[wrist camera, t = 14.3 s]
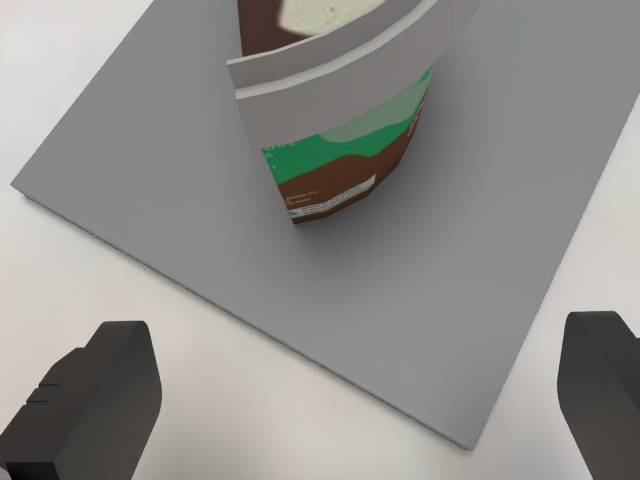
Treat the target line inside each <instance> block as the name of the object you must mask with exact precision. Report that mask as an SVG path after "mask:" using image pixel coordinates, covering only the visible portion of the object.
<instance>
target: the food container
mask: <svg viewBox="0 0 640 480" xmlns="http://www.w3.org/2000/svg"><path fill="white" fill-rule="evenodd" d="M481 1H482V0H237V5H238V16H239V28H240V38H241V48H242V57H241V58H237V59H232V60H227V66H228V69H229V72H230V75H231V78H232V81H233V83H234V86H235V89H236V100H237V103H238V107H239V110H240V113H241V116H242V120H243V123H244V126H245V129H246V132H247V136H248V139H249V142H250V145H251V148H252V151H254V150H259V149H262V152H263V154H264V156H265V159H266V161H267V163H268V166H269V168H270V170H271V173H272V175H273V178H274V180H275V182H276V185H277V187H278V189H279V192H280V194H281V196H282V199H283V201H284V203H285V206H286V208H287V210H288V213H289V215H290V217H291V220H292V222H293V225H294V224H299V223H303V222H308V221H312V220H317V219H321V218H325V217H328V216H330V215H332V214H334V213H336V212H338V211H340V210H342V209H344V208H346V207H348V206H350V205H352V204H353V203H355V202H357V201H359V200H361V199H363V198H365V197H367V196H368V195H369V194H370V193H371V192H372V191H373V190H374V189H375V188H376V187H377V186H378V185H379V184H380V183H381V182H382V181H383V180H384V179H385V178H386V177H387V176H388V175H389V174H390V173H391V172H393V171H394V170H395V169H396V168H397V167H398V165H399V163H400V161H401V159H402V157H403V155H404V153H405V150H406V148H407V146H408V144H409V142H410V140H411V138H412V136H413V134H414V132H415V130H416V126H417V123H418V120H419V116H420V113H421V110H422V106H423V103H424V100H425V96H426V93H427V90H428V86H429V83H430V80H431V77H432V73H433V70H434V67H435V63H436V61H437V60H438V59H439V58H440V57H441V56H442V55H443V54H444V53H445V52H446V51H447V50H448V49H449V48H450V47H451V46H452V45H453V44H454V43H455V41H456V40H457V38H458V37H459V35H460V34H461V33H462V31H463V30H464V28H465V27H466V25H467V24H468V23H469V21H470V20H471V18H472V17H473V15H474V14H475V13H476V11H477V10H478V8H479V5H480V3H481Z"/></svg>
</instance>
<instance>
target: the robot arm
mask: <svg viewBox="0 0 640 480" xmlns="http://www.w3.org/2000/svg"><path fill="white" fill-rule="evenodd" d="M557 392H558V399H559V404H560V408H561V411H562V413H563V416H564V418H565V420H566V422H567V424H568V426H569V429H570V431H571V433H572V435H573V437H574V439H575V441H576V444H577V446H578V448H579V450H580V452H581V454H582V456H583V459H584V461H585V463H586V465H587V467H588V469H589V471H590V474H591V476H592V478H593V480H640V338H636V337H635V335H634V334H633V333H632V332H631V330H630V329H629V328H628V326H627V325H626V324H625V322H624V321H623V320H622V318H621V317H620V316H619V315H618V313H616V312H615V311H587V312H571V313H569V315H568V316H567V319H566V323H565V330H564V337H563V344H562V350H561V357H560V364H559V371H558V378H557ZM161 401H162V387H161V381H160V376H159V372H158V367H157V363H156V359H155V354H154V350H153V345H152V341H151V336H150V332H149V329H148V326H147V324H146V323H145V322H144V321H106V322H103V323H102V324H101V325H100V326H99V328H98V329H97V331H96V332H95V333H94V335H93V336H92V338H91V339H90V341H89V342H88V343H87V345H86V346H85V348H75V349H74V350H73V351H71V352H70V353H68V354H67V355H66V356H64V357H63V358H62V359H60V360H59V361H58V362H56V363H55V364H54V365H53V366H52V367H51V368H50V370H49V371H48V372H47V374H46V375H45V377H44V378H43V379H42V381H41V382H40V383H39V387H38V388H36V389H35V390H34V391H33V393H32V394H31V395H30V397H29V398H28V399H27V401H26V405H23V406H22V407H21V409H20V410H19V411H18V413H17V414H16V415H15V417H14V418H13V419H12V421H11V422H10V423H9V425H8V426H7V427H6V429H5V430H4V431H3V433H2V434H1V435H0V480H131V478H132V476H133V474H134V471H135V469H136V467H137V464H138V462H139V460H140V457H141V455H142V453H143V451H144V448H145V446H146V444H147V441H148V439H149V437H150V434H151V432H152V430H153V427H154V425H155V423H156V420H157V418H158V415H159V412H160V408H161Z"/></svg>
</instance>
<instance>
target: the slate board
mask: <svg viewBox="0 0 640 480" xmlns="http://www.w3.org/2000/svg"><path fill="white" fill-rule="evenodd" d="M241 57H242V48H241V38H240V28H239V16H238V5H237V0H154V1H153V2H152V3H151V5H150V6H149V7H148V9H147V10H146V11H145V12H144V14H143V15H142V16H141V18H140V19H139V20H138V21H137V23H136V24H135V25H134V26H133V28H132V29H131V30H130V32H129V33H128V34H127V35H126V37H125V38H124V39H123V41H122V42H121V43H120V44H119V46H118V47H117V48H116V49H115V51H114V52H113V53H112V55H111V56H110V57H109V58H108V60H107V61H106V62H105V63H104V65H103V66H102V67H101V69H100V70H99V71H98V72H97V74H96V75H95V76H94V78H93V79H92V80H91V81H90V83H89V84H88V85H87V86H86V88H85V89H84V90H83V92H82V93H81V94H80V95H79V97H78V98H77V99H76V101H75V102H74V103H73V104H72V106H71V107H70V108H69V109H68V111H67V112H66V113H65V115H64V116H63V117H62V118H61V120H60V121H59V122H58V124H57V125H56V126H55V127H54V129H53V130H52V131H51V132H50V134H49V135H48V136H47V138H46V139H45V140H44V141H43V143H42V144H41V145H40V147H39V148H38V149H37V150H36V152H35V153H34V154H33V155H32V157H31V158H30V159H29V161H28V162H27V163H26V164H25V166H24V167H23V168H22V170H21V171H20V172H19V173H18V175H17V176H16V177H15V178H14V180H13V181H12V182H11V184H10V185H11V186H12V187H14V188H15V189H17V190H18V191H19V192H21V193H22V194H24V195H25V196H27V197H28V198H30V199H32V200H34V201H35V202H37V203H39V204H41V205H42V206H44V207H46V208H48V209H49V210H51V211H53V212H54V213H56V214H58V215H60V216H61V217H63V218H65V219H67V220H68V221H70V222H72V223H74V224H75V225H77V226H79V227H81V228H82V229H84V230H86V231H88V232H89V233H91V234H93V235H94V236H96V237H98V238H100V239H101V240H103V241H105V242H107V243H108V244H110V245H112V246H114V247H115V248H117V249H119V250H121V251H122V252H124V253H126V254H127V255H129V256H131V257H133V258H134V259H136V260H138V261H140V262H141V263H143V264H145V265H147V266H148V267H150V268H152V269H154V270H155V271H157V272H159V273H161V274H162V275H164V276H166V277H167V278H169V279H171V280H173V281H174V282H176V283H178V284H180V285H181V286H183V287H185V288H187V289H188V290H190V291H192V292H194V293H195V294H197V295H199V296H200V297H202V298H204V299H206V300H207V301H209V302H211V303H213V304H214V305H216V306H218V307H220V308H221V309H223V310H225V311H227V312H228V313H230V314H232V315H234V316H235V317H237V318H239V319H240V320H242V321H244V322H246V323H247V324H249V325H251V326H253V327H254V328H256V329H258V330H260V331H261V332H263V333H265V334H267V335H268V336H270V337H272V338H273V339H275V340H277V341H279V342H280V343H282V344H284V345H286V346H287V347H289V348H291V349H293V350H294V351H296V352H298V353H300V354H301V355H303V356H305V357H306V358H308V359H310V360H312V361H313V362H315V363H317V364H319V365H320V366H322V367H324V368H326V369H327V370H329V371H331V372H333V373H334V374H336V375H338V376H340V377H341V378H343V379H345V380H346V381H348V382H350V383H352V384H353V385H355V386H357V387H359V388H360V389H362V390H364V391H366V392H367V393H369V394H371V395H373V396H374V397H376V398H378V399H379V400H381V401H383V402H385V403H386V404H388V405H390V406H392V407H393V408H395V409H397V410H399V411H400V412H402V413H404V414H406V415H407V416H409V417H411V418H413V419H414V420H416V421H418V422H419V423H421V424H423V425H425V426H426V427H428V428H430V429H432V430H433V431H435V432H437V433H439V434H440V435H442V436H444V437H446V438H447V439H449V440H451V441H452V442H454V443H456V444H458V445H459V446H461V447H463V448H465V449H466V450H473V449H474V447H475V445H476V443H477V440H478V438H479V436H480V434H481V432H482V430H483V428H484V425H485V423H486V421H487V419H488V417H489V415H490V413H491V410H492V408H493V406H494V404H495V402H496V400H497V398H498V395H499V393H500V391H501V389H502V387H503V385H504V382H505V380H506V378H507V376H508V374H509V372H510V370H511V367H512V365H513V363H514V361H515V359H516V357H517V355H518V352H519V350H520V348H521V346H522V344H523V342H524V340H525V337H526V335H527V333H528V331H529V329H530V327H531V325H532V322H533V320H534V318H535V316H536V314H537V312H538V310H539V307H540V305H541V303H542V301H543V299H544V297H545V294H546V292H547V290H548V288H549V286H550V284H551V282H552V279H553V277H554V275H555V273H556V271H557V269H558V267H559V264H560V262H561V260H562V258H563V256H564V254H565V252H566V249H567V247H568V245H569V243H570V241H571V239H572V237H573V234H574V232H575V230H576V228H577V226H578V224H579V222H580V219H581V217H582V215H583V213H584V211H585V209H586V206H587V204H588V202H589V200H590V198H591V196H592V194H593V191H594V189H595V187H596V185H597V183H598V181H599V179H600V176H601V174H602V172H603V170H604V168H605V166H606V164H607V161H608V159H609V157H610V155H611V153H612V151H613V149H614V146H615V144H616V142H617V140H618V138H619V136H620V134H621V131H622V129H623V127H624V125H625V123H626V121H627V118H628V116H629V114H630V112H631V110H632V108H633V106H634V103H635V101H636V99H637V97H638V95H639V93H640V0H482V1H481V3H480V5H479V8H478V10H477V11H476V13H475V14H474V15H473V17H472V18H471V20H470V21H469V23H468V24H467V25H466V27H465V28H464V30H463V31H462V33H461V34H460V35H459V37H458V38H457V40H456V41H455V43H454V44H453V45H452V46H451V47H450V48H449V49H448V50H447V51H446V52H445V53H444V54H443V55H442V56H441V57H440V58H439V59H438V60H437V61H436V63H435V67H434V70H433V73H432V77H431V80H430V83H429V86H428V90H427V93H426V96H425V100H424V103H423V106H422V110H421V113H420V116H419V120H418V123H417V126H416V130H415V132H414V134H413V136H412V138H411V140H410V142H409V144H408V146H407V148H406V150H405V153H404V155H403V157H402V159H401V161H400V163H399V165H398V167H397V168H396V169H395V170H394V171H393V172H391V173H390V174H389V175H388V176H387V177H386V178H385V179H384V180H383V181H382V182H381V183H380V184H379V185H378V186H377V187H376V188H375V189H374V190H373V191H372V192H371V193H370V194H369V195H368V196H367V197H365V198H363V199H361V200H359V201H357V202H355V203H353V204H352V205H350V206H348V207H346V208H344V209H342V210H340V211H338V212H336V213H334V214H332V215H330V216H328V217H325V218H321V219H317V220H312V221H308V222H303V223H299V224H294V225H293V222H292V220H291V217H290V215H289V213H288V210H287V208H286V206H285V203H284V201H283V199H282V196H281V194H280V192H279V189H278V187H277V185H276V182H275V180H274V178H273V175H272V173H271V170H270V168H269V166H268V163H267V161H266V159H265V156H264V154H263V152H262V149H259V150H254V151H252V148H251V145H250V142H249V139H248V136H247V132H246V129H245V126H244V123H243V120H242V116H241V113H240V110H239V107H238V103H237V100H236V89H235V86H234V83H233V81H232V78H231V75H230V72H229V69H228V66H227V60H232V59H237V58H241Z"/></svg>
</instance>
